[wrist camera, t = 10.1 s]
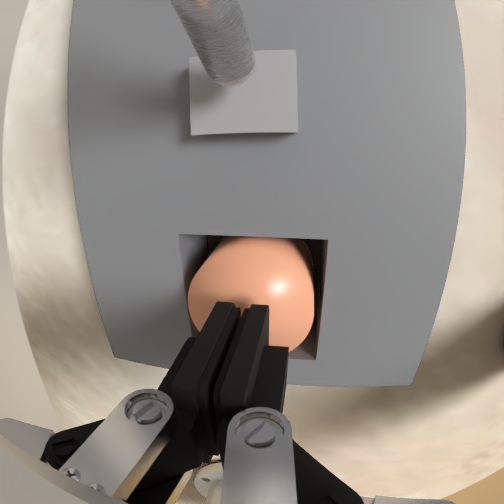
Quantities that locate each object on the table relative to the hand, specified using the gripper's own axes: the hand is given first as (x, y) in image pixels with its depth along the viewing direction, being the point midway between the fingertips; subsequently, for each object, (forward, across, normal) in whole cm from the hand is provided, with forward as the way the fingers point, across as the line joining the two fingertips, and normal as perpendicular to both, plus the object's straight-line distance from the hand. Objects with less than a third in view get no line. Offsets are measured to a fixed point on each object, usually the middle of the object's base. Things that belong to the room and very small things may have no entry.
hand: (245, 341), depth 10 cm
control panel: (+4, 0, -8) cm, 9 cm away
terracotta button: (+4, 0, -1) cm, 4 cm away
